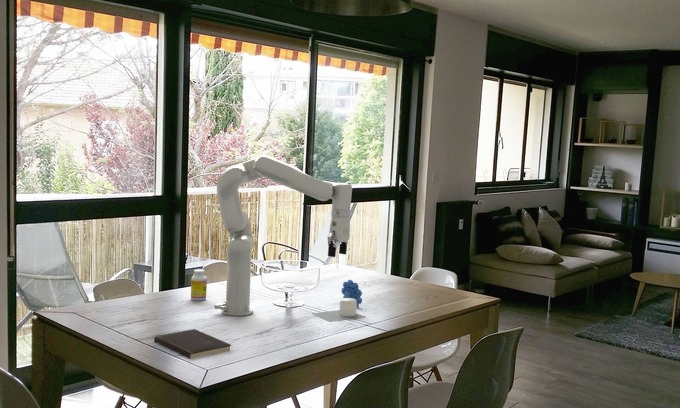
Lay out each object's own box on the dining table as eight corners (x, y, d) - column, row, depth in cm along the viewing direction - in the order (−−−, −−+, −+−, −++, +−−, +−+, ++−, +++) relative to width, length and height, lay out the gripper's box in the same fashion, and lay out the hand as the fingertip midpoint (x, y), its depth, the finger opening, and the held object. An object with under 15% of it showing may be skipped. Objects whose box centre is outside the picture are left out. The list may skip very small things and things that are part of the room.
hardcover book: (194, 335, 245) (194, 328, 245) (231, 351, 228) (231, 344, 228) (154, 342, 234) (154, 336, 233) (189, 360, 217) (189, 353, 217)
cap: (358, 315, 276) (359, 300, 276) (345, 316, 273) (346, 302, 272) (350, 311, 282) (350, 297, 281) (336, 313, 278) (337, 298, 278)
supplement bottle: (204, 301, 293) (205, 272, 292) (189, 300, 293) (189, 271, 292) (207, 297, 299) (208, 269, 298) (192, 297, 300) (193, 268, 298)
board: (329, 325, 264) (329, 310, 263) (310, 317, 276) (311, 302, 275) (366, 320, 274) (367, 306, 273) (347, 312, 286) (347, 298, 285)
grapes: (334, 306, 296) (335, 279, 295) (344, 303, 301) (346, 277, 300) (354, 311, 288) (355, 283, 287) (364, 309, 293) (366, 281, 292)
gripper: (339, 215, 265) (335, 259, 267) (358, 213, 281) (354, 254, 282) (322, 213, 268) (318, 256, 270) (342, 211, 284) (338, 251, 285)
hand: (337, 255), depth 276 cm, fingers open, 9 cm apart
